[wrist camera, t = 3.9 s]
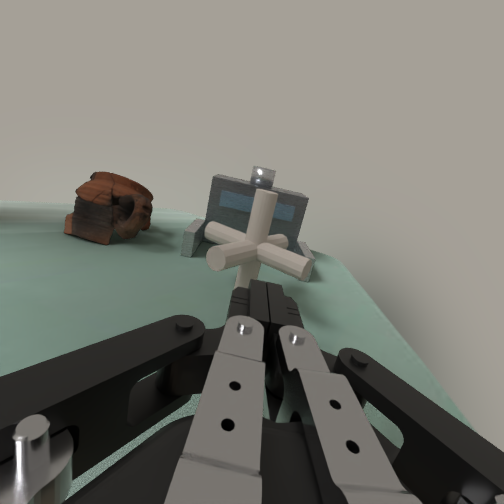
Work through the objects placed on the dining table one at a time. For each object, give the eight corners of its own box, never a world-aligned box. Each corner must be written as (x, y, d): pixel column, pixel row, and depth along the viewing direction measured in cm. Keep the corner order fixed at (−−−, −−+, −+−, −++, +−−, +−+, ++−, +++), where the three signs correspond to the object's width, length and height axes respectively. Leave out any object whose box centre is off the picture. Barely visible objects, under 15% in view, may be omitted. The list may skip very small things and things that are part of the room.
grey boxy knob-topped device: (180, 255, 33) (196, 153, 29) (200, 229, 45) (213, 155, 41) (308, 282, 33) (338, 187, 30) (293, 249, 46) (313, 179, 42)
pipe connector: (232, 269, 32) (251, 181, 29) (311, 307, 27) (344, 207, 24) (161, 291, 24) (177, 172, 21) (257, 352, 19) (296, 209, 16)
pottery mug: (40, 230, 32) (69, 166, 34) (113, 255, 40) (133, 202, 42) (100, 237, 26) (131, 158, 27) (173, 265, 33) (193, 203, 35)
